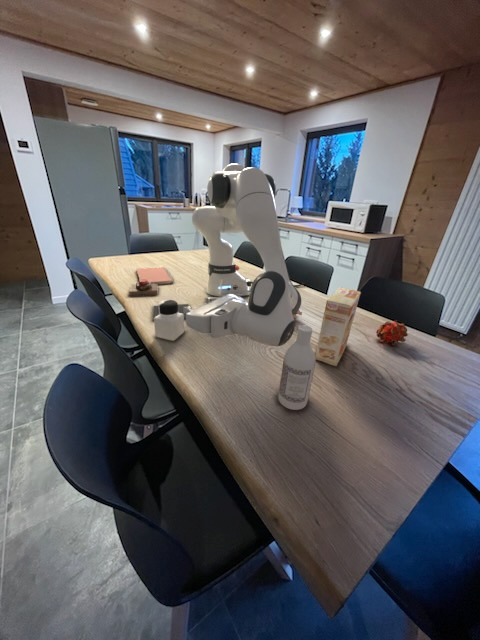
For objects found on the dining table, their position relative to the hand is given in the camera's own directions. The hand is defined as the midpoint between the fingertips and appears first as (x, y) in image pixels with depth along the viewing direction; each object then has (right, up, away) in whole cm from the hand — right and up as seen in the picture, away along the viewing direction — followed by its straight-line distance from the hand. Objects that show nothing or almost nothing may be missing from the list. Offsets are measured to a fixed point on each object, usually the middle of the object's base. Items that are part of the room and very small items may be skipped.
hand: (196, 304), depth 78 cm
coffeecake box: (+42, -15, +7) cm, 46 cm away
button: (-32, +12, +46) cm, 57 cm away
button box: (-33, +9, +47) cm, 58 cm away
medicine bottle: (-11, -10, +12) cm, 19 cm away
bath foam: (+26, -25, -14) cm, 38 cm away
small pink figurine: (+33, -5, +28) cm, 44 cm away
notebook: (-34, +19, +68) cm, 79 cm away
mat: (-14, -2, +28) cm, 32 cm away
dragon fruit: (+65, -13, +15) cm, 68 cm away
